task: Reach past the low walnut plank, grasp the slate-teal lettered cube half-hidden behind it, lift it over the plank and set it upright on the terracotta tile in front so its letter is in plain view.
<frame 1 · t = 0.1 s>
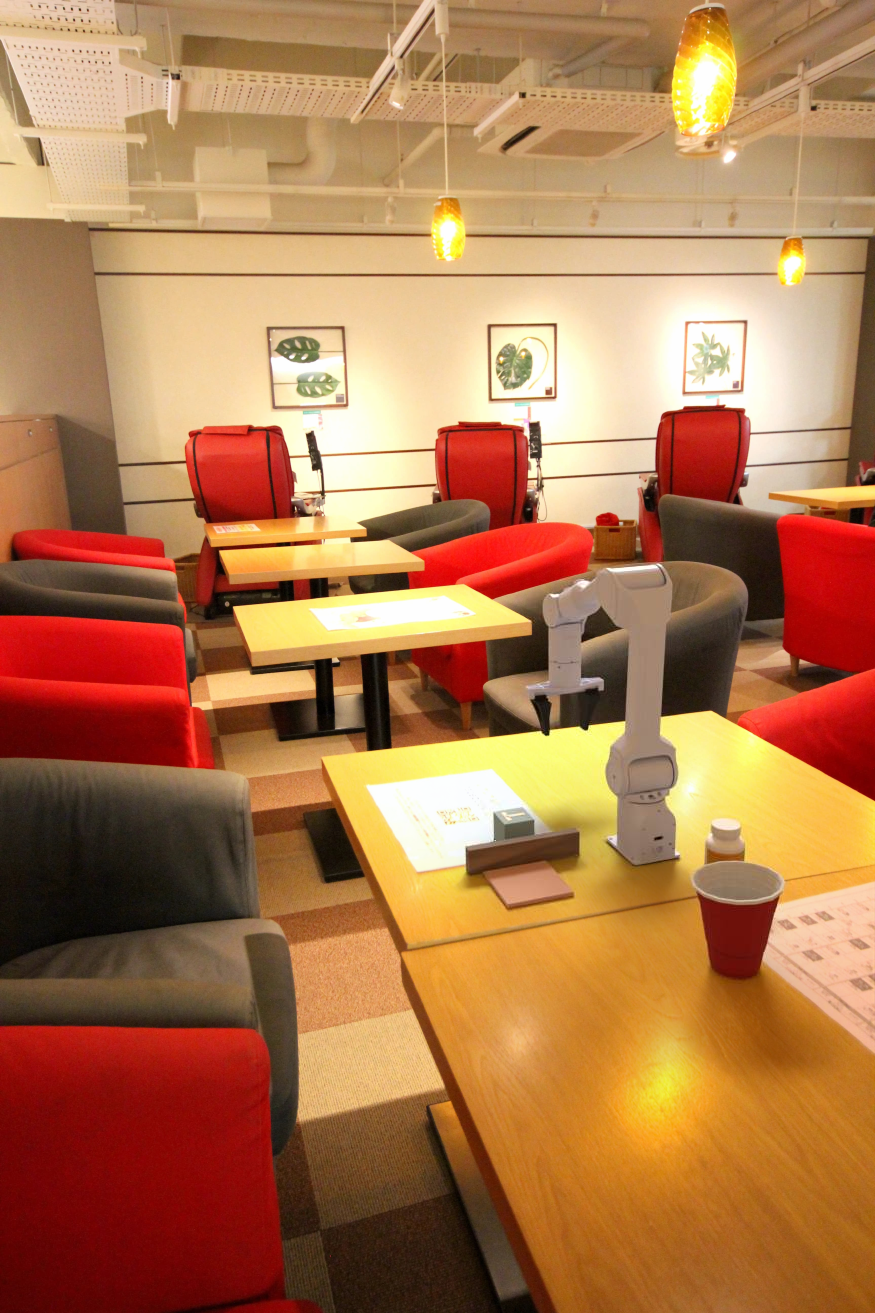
hand: (564, 731, 165), 10 cm above the table, tool pointing down, fingers open, 7 cm apart
supplement bottle: (723, 887, 130), on the table
lettered cube: (514, 844, 145), on the table
terracotta tile: (527, 885, 132), on the table
walnut plank: (523, 863, 139), on the table
plastic cup: (732, 967, 111), on the table
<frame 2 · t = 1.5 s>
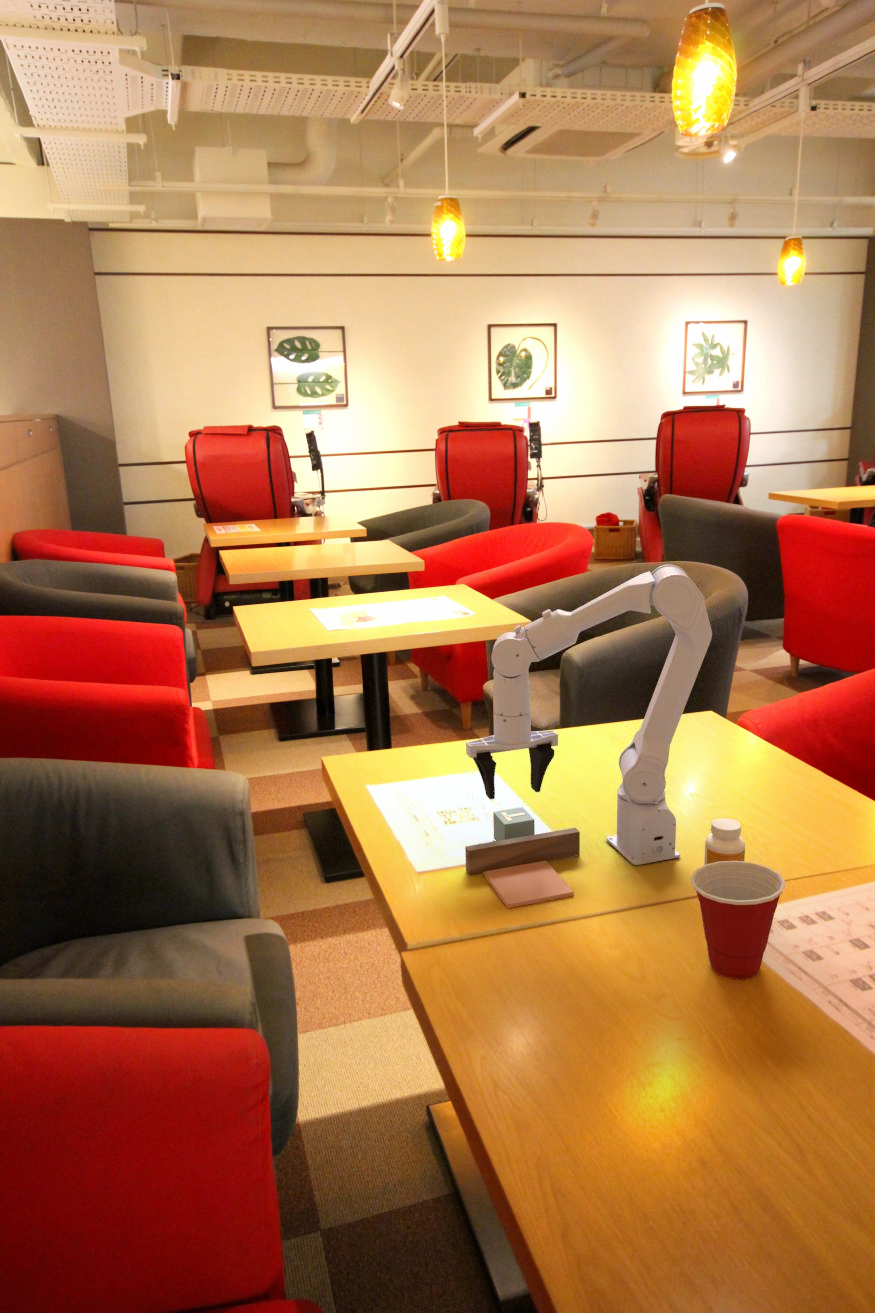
hand: (513, 793, 143), 9 cm above the table, tool pointing down, fingers open, 7 cm apart
nothing on the table moved.
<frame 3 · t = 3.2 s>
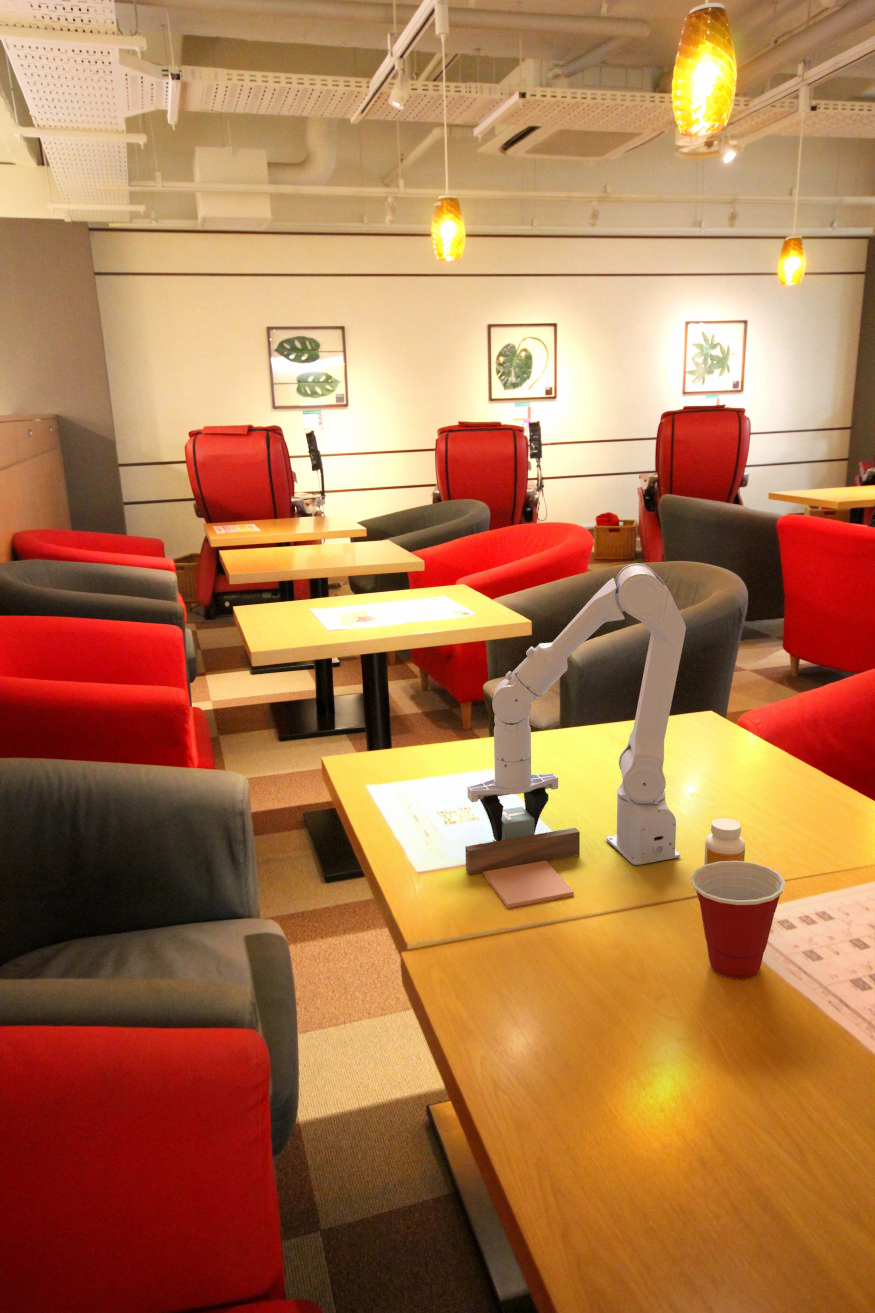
hand: (513, 835, 145), 1 cm above the table, tool pointing down, fingers closed on lettered cube, 5 cm apart
lettered cube: (514, 844, 145), on the table, touching gripper
everything else where it was.
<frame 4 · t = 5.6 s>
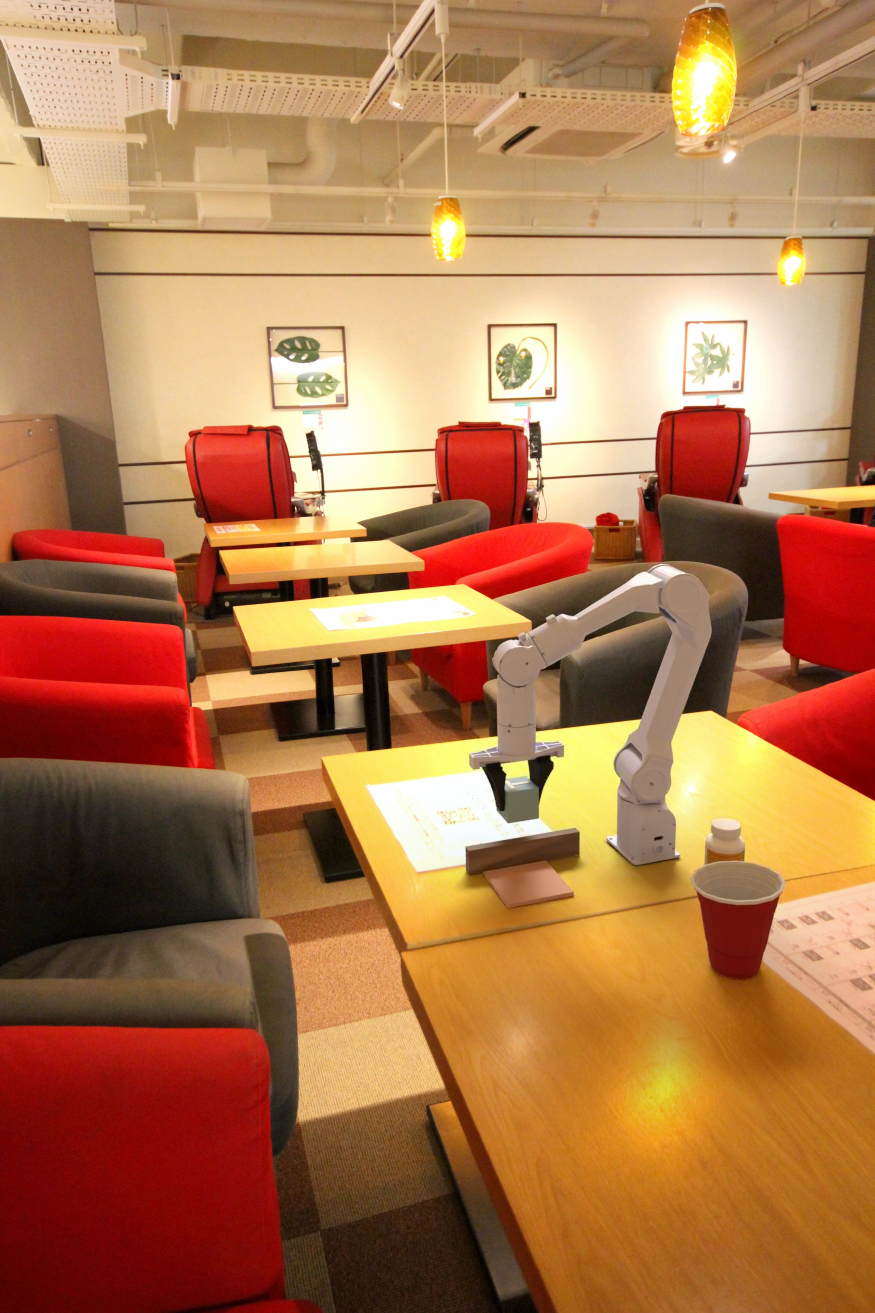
hand: (517, 805, 138), 9 cm above the table, tool pointing down, fingers closed on lettered cube, 5 cm apart
lettered cube: (517, 814, 139), point 7 cm above the table, touching gripper
everything else where it was.
when the fingers open (4 cm above the table, at t = 8.2 s): lettered cube drops 1 cm, resting on terracotta tile.
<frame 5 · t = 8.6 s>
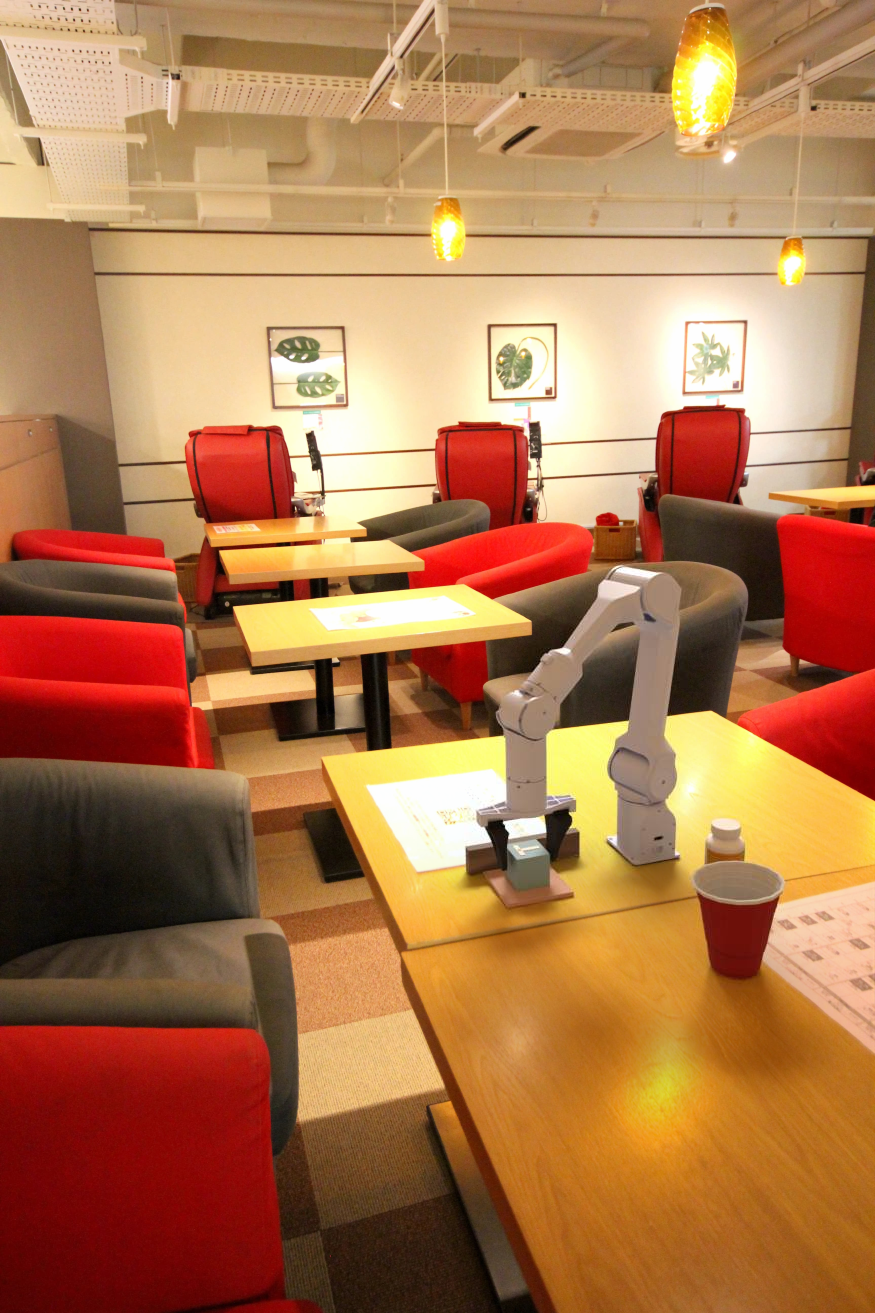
hand: (527, 863, 131), 4 cm above the table, tool pointing down, fingers open, 7 cm apart
lettered cube: (527, 880, 132), point 1 cm above the table, touching terracotta tile
everything else where it was.
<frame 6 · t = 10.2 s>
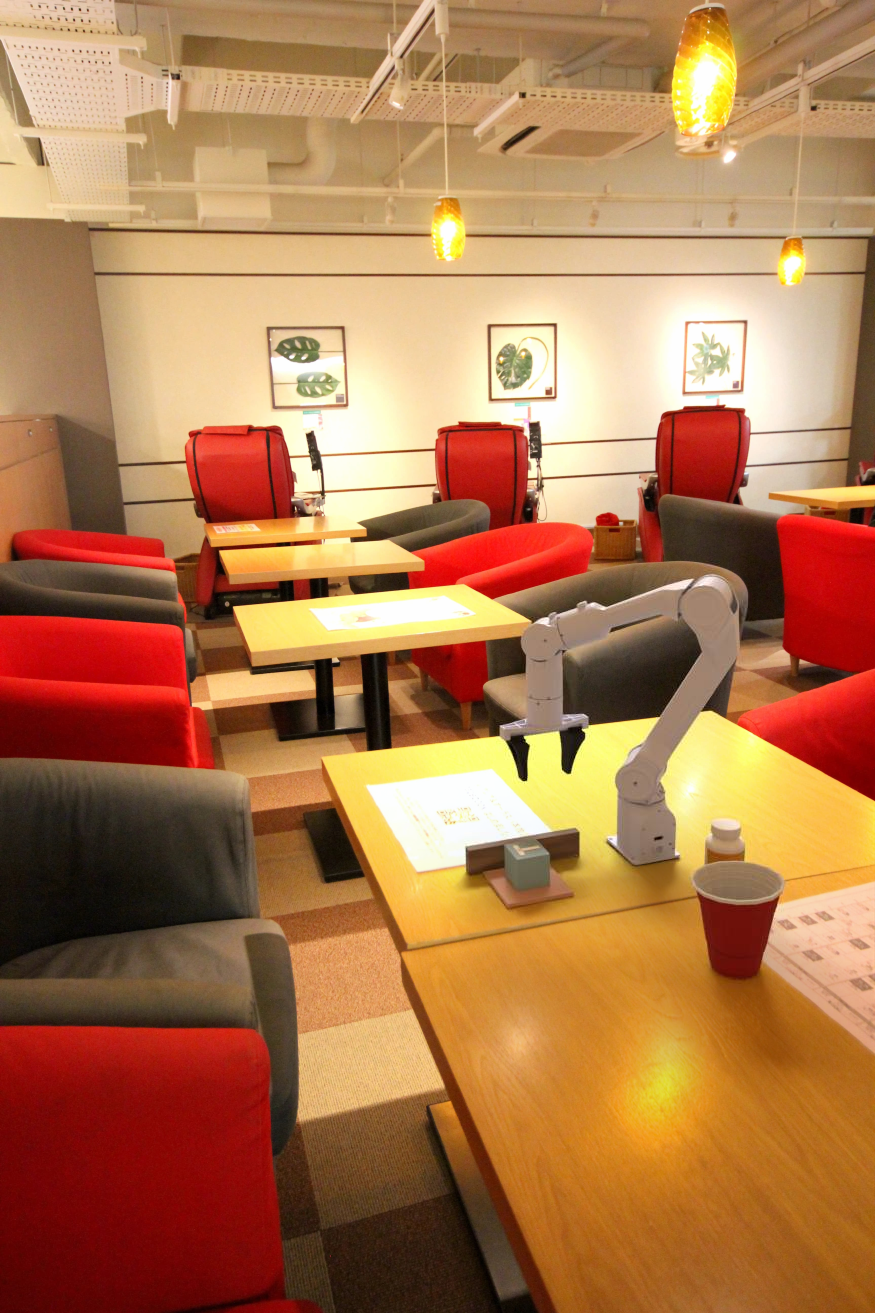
hand: (544, 775, 146), 10 cm above the table, tool pointing down, fingers open, 7 cm apart
nothing on the table moved.
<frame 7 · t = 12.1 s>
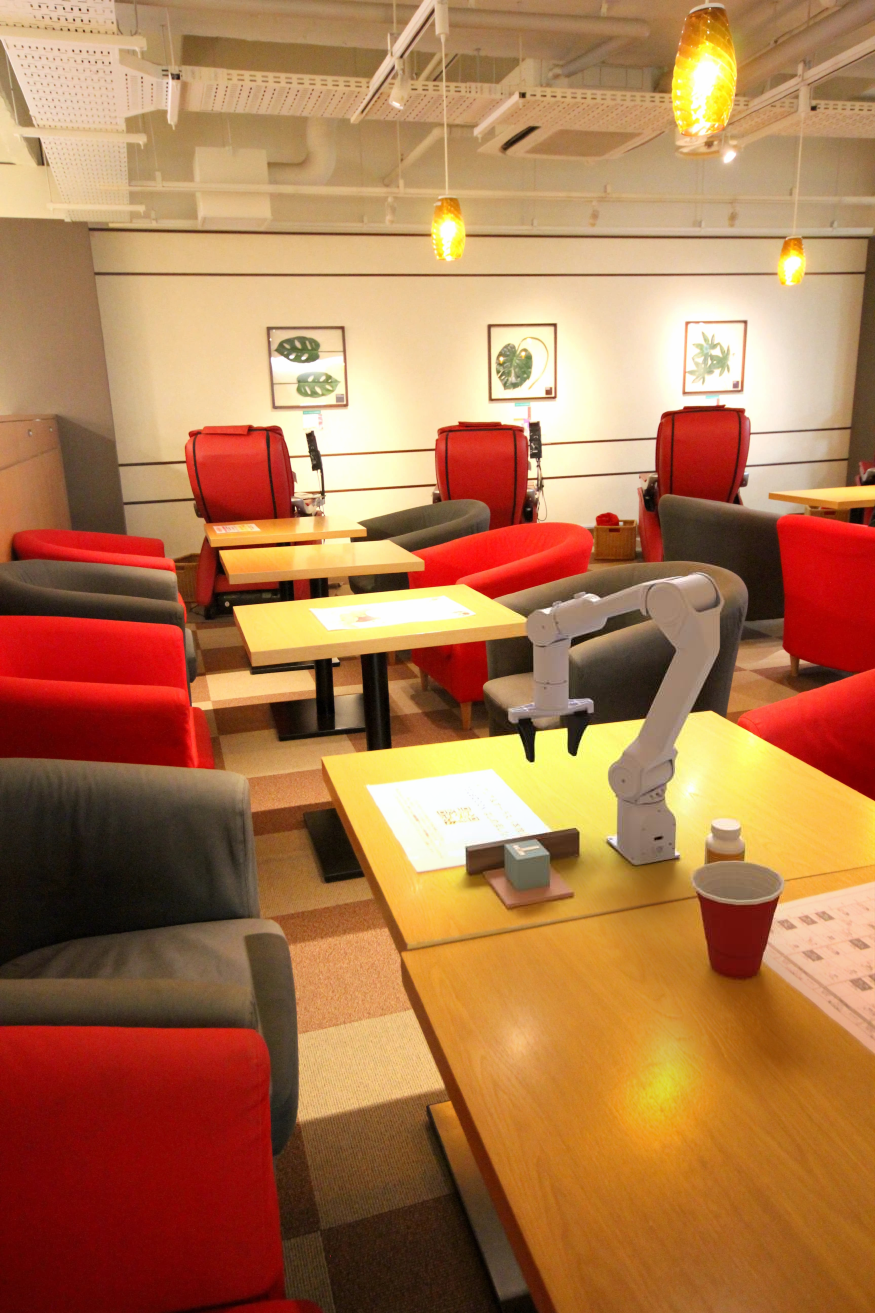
hand: (551, 757, 152), 10 cm above the table, tool pointing down, fingers open, 7 cm apart
nothing on the table moved.
at the end: lettered cube inside the target area on the terracotta tile (0.2 cm from its centre), point 0.6 cm above the terracotta tile's base; lettered cube tilted 0°; the gripper is holding nothing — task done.
